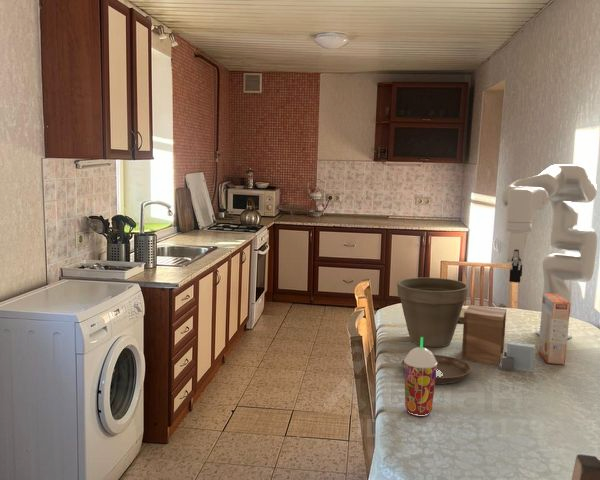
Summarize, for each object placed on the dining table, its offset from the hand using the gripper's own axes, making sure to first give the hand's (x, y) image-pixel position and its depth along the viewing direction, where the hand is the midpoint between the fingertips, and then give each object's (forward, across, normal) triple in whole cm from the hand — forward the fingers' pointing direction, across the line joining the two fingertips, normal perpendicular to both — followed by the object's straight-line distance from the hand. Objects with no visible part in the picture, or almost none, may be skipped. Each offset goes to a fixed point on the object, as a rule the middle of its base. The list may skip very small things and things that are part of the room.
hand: (515, 279), depth 184 cm
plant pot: (+28, -8, -29) cm, 41 cm away
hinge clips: (+27, +8, 0) cm, 28 cm away
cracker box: (+28, -9, +12) cm, 32 cm away
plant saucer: (+27, +25, -20) cm, 42 cm away
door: (+28, +8, +3) cm, 29 cm away
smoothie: (+26, +55, -19) cm, 64 cm away
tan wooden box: (+27, +1, -9) cm, 29 cm away
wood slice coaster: (+29, -47, -23) cm, 60 cm away
